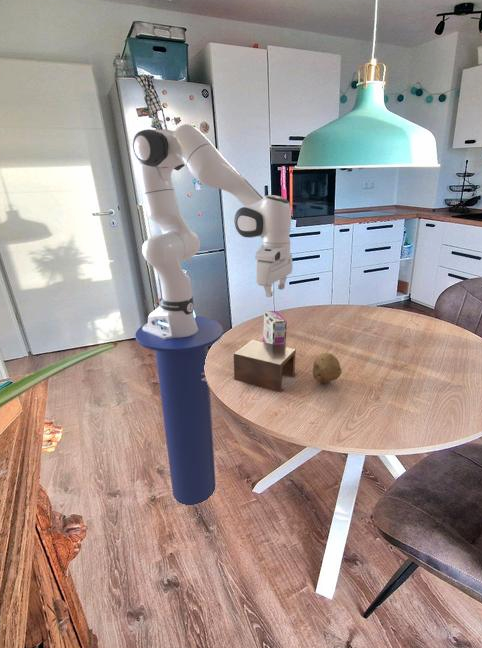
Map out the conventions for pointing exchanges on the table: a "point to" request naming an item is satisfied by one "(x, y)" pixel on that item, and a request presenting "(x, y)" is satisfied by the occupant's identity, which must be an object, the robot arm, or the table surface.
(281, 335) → the candy bar box
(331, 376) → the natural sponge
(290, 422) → the table surface
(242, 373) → the walnut shelf
